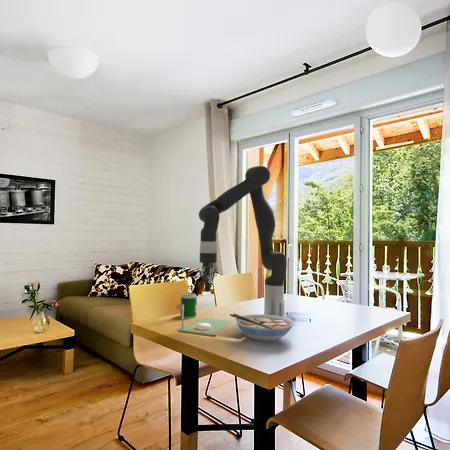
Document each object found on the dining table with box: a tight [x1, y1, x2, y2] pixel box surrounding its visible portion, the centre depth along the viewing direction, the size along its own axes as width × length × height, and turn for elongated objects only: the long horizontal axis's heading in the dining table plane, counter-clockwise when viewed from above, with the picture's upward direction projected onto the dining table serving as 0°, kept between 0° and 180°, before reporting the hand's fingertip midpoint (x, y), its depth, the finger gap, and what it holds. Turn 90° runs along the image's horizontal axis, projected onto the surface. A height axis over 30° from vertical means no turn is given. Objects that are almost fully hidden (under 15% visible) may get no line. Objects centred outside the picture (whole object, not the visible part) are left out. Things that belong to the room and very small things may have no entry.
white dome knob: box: [196, 323, 212, 331], centre depth 148 cm, size 6×6×2 cm
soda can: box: [180, 292, 198, 319], centre depth 169 cm, size 8×8×12 cm
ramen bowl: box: [229, 313, 294, 343], centre depth 138 cm, size 25×23×8 cm
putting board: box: [176, 303, 234, 338], centre depth 153 cm, size 18×24×11 cm
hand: (207, 291), depth 153 cm, fingers closed
